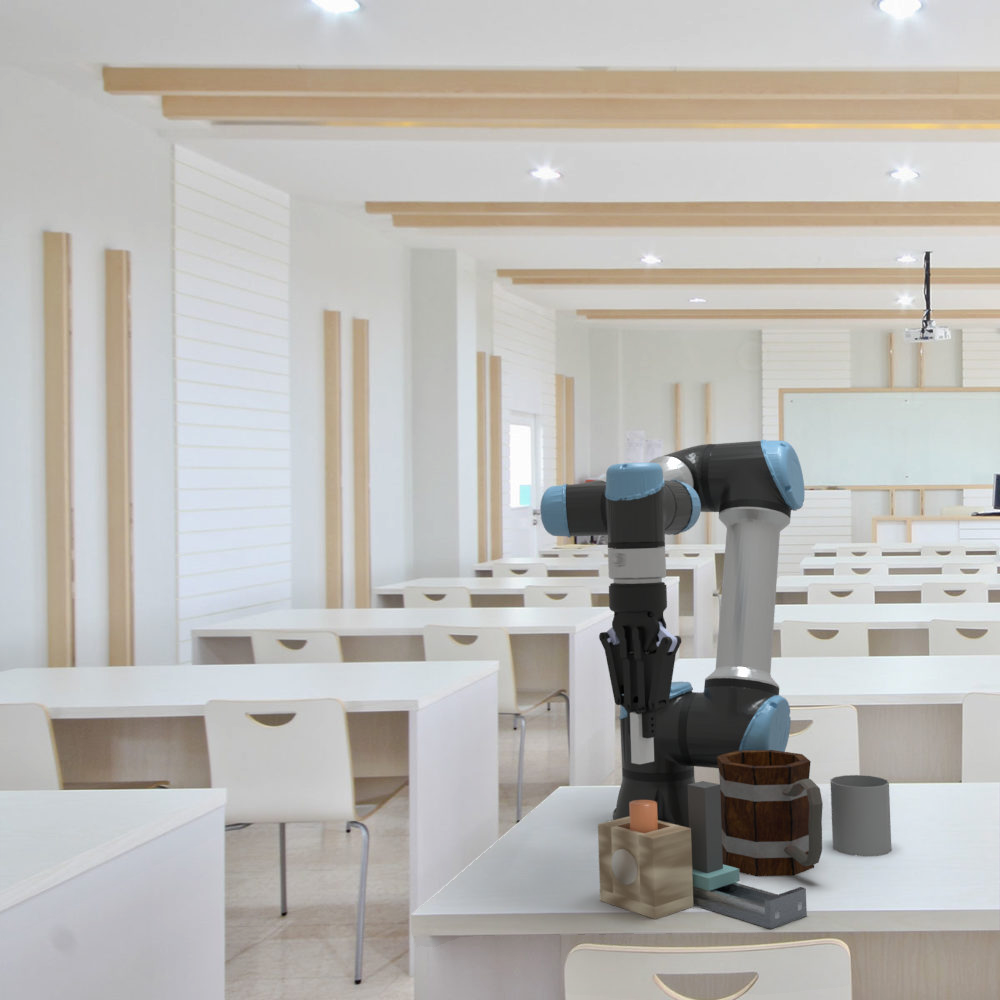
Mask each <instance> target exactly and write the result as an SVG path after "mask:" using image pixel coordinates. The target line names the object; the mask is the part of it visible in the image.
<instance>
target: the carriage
mask: <svg viewBox="0 0 1000 1000" xmlns="http://www.w3.org/2000/svg"><path fill="white" fill-rule="evenodd" d="M688 814H689V828H691V845H692V876H693V886H694V887H698V888H701V889H704V890H708V891H710V890H713V889H716V888H720V887H723V886H726V885H729V884H732V883H738V882H740V879H741V877H740V874H741V873H739V869H738V868H735V867H731V866H727V865H724V864H723V855H722V825H721V795H720V783H714V782H710V781H705V780H701V781H698V782H696V781H695V783H692V784H688Z"/></svg>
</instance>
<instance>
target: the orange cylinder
mask: <svg viewBox="0 0 1000 1000" xmlns="http://www.w3.org/2000/svg"><path fill="white" fill-rule="evenodd" d="M629 810H630V830H633V831H637V832H641V833H647V832H651V831H655V830H658V815H657V802H655V801H652V800H635V801H631V802H630V803H629Z"/></svg>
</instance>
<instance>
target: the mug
mask: <svg viewBox="0 0 1000 1000" xmlns="http://www.w3.org/2000/svg"><path fill="white" fill-rule="evenodd" d="M717 761H718V768H717V769H718V773H719V774H718V776H719V784H720V795H721V825H722V855H723V864H724V865H727V866H731V867H735V868H738V869H739V873H740V874H745V875H748V876H753V877H791V876H792V877H795V876H797V875H799V874H802V873H804V872H807V871H809V870H811V869H814V868H815V864H819V863H820V858H821V855H822V852H823V826H822V825H823V824H822V821H823V799H822V793H821V789H820V786H818V785H817V784H816V782H814V781H813V780H812V779H811V778H810V771H811V764H812V763H811V760H810V759H808V758H807V757H806V756H805V755H804V754H803V753H795V752H789V751H785V752H783V751H776V750H751V751H735V752H731V753H727V754H723V755H719V756H717Z"/></svg>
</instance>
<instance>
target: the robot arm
mask: <svg viewBox="0 0 1000 1000" xmlns="http://www.w3.org/2000/svg"><path fill="white" fill-rule="evenodd" d="M605 473H606V474H605V477H601V478H598V479H594V480H590V481H586V482H583V483H575V484H568V483H563V484H561V485H560V484H559V485H552V486H550V487H548V488H546V489H545V491H544V493H543V494H542V498H541V501H540V507H539V508H540V509H539V510H540V520H541V523H542V525H543V528H544V529H545V531H546V533H547V534H549V535H551V536H553V537H567V538H572V537H590V536H591V537H592V536H593V537H595V536H607V557H608V558H607V562H608V563H607V564H608V565H607V566H608V578H609V579H611V580H613V582H611V583H610V584H609V585H608V603H609V607H608V608H609V609H610V611H611V612H613V618H612V620H611V628H609V629H608V630H607V631H604V632H600V633H599V635H598V639H599V641H600V643H601V645H602V647H603V650H604V654H605V658H606V664H607V669H608V673H609V674H608V675H609V678H610V679H609V680H610V684H611V689H612V690H611V691H612V694H613V699H614V703H615V705H616V706H620V708H619V710H620V711H619V717H618V718H619V723H620V724H619V725H620V726H619V727H620V750H621V751H620V752H621V754H620V755H621V771H622V772H621V784H620V789H619V791H618V796H617V799H616V800H617V801H616V807H615V808H614V809H613V813H612V820H616V819H621V818H625V817H629V816H630V810H629V803H630V802H631V801H635V800H652V801H655V802H657V815H658V820H659V821H663V822H667V823H671V824H675V825H679V826H683V827H687V828H689V814H688V784H692V783H696V780H695V767H698V768H699V767H701V768H710V769H711V768H712V769H719V768H718V761H717V756H719V755H723V754H727V753H731V752H735V751H751V750H776V751H783V752H786V749H787V746H788V742H789V737H790V731H791V724H792V723H791V719H792V718H791V708H790V704H789V702H788V700H787V699H786V698H785V697H783V696H782V695H781V694H780V685H779V684H778V683H777V682H776V681H775V679H774V678H773V677H772V675H771V674H772V673H771V672H772V670H771V669H772V659H773V658H772V655H773V644H774V643H773V641H774V640H773V639H774V626H775V612H776V611H775V610H776V599H777V598H776V597H777V595H776V594H777V583H778V581H777V580H778V567H779V566H778V565H779V553H780V552H779V551H780V537H781V532H782V531H783V530H784V529H786V528H787V527H788V526H789V525H790V524H791V514H792V511H798V510H800V509H801V508H802V507H803V505H804V502H805V483H804V481H805V480H804V476H803V475H804V473H803V470H802V466H801V462H800V460H799V456H798V454H797V452H796V450H795V448H794V447H793V446H792V445H791V444H790V443H789V442H788V441H785V440H767V439H761V440H754V441H752V440H751V441H740V442H739V441H737V442H726V443H725V442H723V443H707V444H700V445H699V444H698V445H695V446H694V445H693V446H690V447H688V448H683V449H681V450H677V451H674V452H670V453H668V454H664V455H662V456H657V457H655V458H652V459H651V460H650V461H649V462H628V463H627V462H625V463H615V464H612V465H610V466H609V467H608V468H607V469H606V471H605ZM701 513H718V519H719V521H720V522H721V523H722V524H723V525H724V526H725V527H726V534H725V535H726V537H725V547H724V559H723V560H724V561H723V573H722V587H721V599H720V609H719V610H720V611H719V621H718V631H717V633H718V635H717V647H716V659H715V669H714V671H713V672H712V673H710V674H709V675H707V677H706V678H705V679H704V688H703V692H701V691H700V692H694V688H693V686H692V683H691V682H690V681H673V675H674V669H675V661H676V654H677V652H678V650H679V649H680V646H681V643H682V638H681V636H680V635H673V634H672V633H670V631H669V630H668V629H667V622H666V621H665V618H664V613H665V610H666V609H667V607H668V601H667V600H668V597H667V596H668V592H667V584H666V582H665V581H662V580H663V579H665V578H666V576H667V563H666V539H665V538H666V536H665V535H668V536H670V535H673V536H677V535H679V534H682V533H685V532H687V531H689V530H690V529H692V528H693V527H694V526H695V525H696V524H697V522H698V520H699V519H700V516H701Z"/></svg>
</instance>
